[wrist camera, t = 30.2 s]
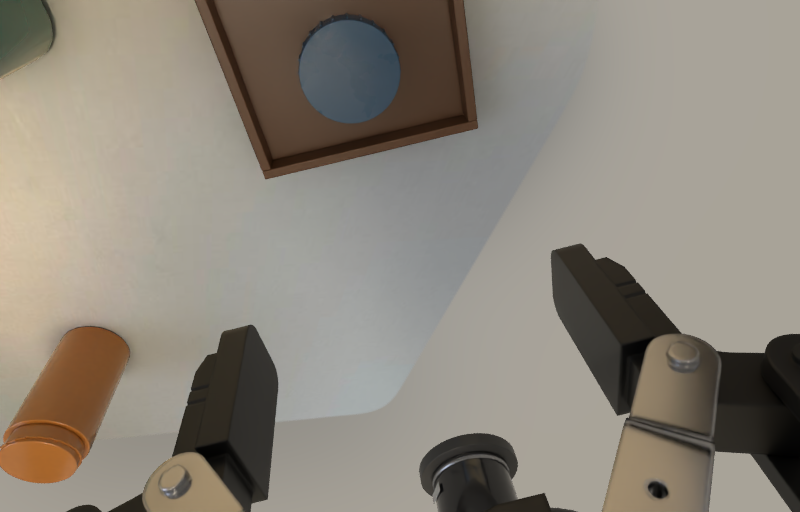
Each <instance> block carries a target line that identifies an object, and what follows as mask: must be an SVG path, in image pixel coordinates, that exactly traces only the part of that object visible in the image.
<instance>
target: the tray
mask: <svg viewBox="0 0 800 512" xmlns="http://www.w3.org/2000/svg"><path fill="white" fill-rule="evenodd" d="M195 2H196V5H197V7H198V10H199V12H200V15H201V18H202V20H203V23H204V25H205V28H206V30H207V33H208V35H209V38H210V40H211V43H212V45H213V48H214V50H215V53H216V55H217V58H218V60H219V63H220V66H221V68H222V71H223V73H224V76H225V78H226V81H227V83H228V86H229V88H230V91H231V93H232V96H233V98H234V101H235V103H236V106H237V109H238V111H239V114H240V116H241V119H242V121H243V124H244V126H245V129H246V131H247V134H248V136H249V139H250V141H251V144H252V146H253V149H254V152H255V154H256V157H257V159H258V162H259V164H260V167H261V169H262V171H263V174H264V177H265V179H269V178H273V177H278V176H282V175H286V174H290V173H294V172H298V171H303V170H307V169H311V168H315V167H319V166H323V165H328V164H332V163H336V162H340V161H344V160H348V159H353V158H357V157H361V156H365V155H369V154H373V153H378V152H382V151H386V150H390V149H394V148H398V147H403V146H407V145H411V144H415V143H419V142H423V141H427V140H432V139H436V138H440V137H444V136H448V135H452V134H457V133H461V132H465V131H469V130H473V129H477V128H478V123H477V114H476V105H475V96H474V88H473V79H472V70H471V62H470V53H469V44H468V36H467V27H466V18H465V9H464V1H463V0H195ZM345 13H347V14H348V15H357V16H359V15H361V17H364V18H366V19H368V20H370V21H372V20H373V21H374V23H375V24H377V25H378V26H379V27H380V28H381V29H384V30H385V32H386V34H387V36H388V37H389V39H390V40H391V39H392V41H393V43H394V45H393V46H394V48H395V50H396V52H397V53H398V55H399V63H400V69H401V72H400V82H399V87H398V90H397V93H396V95H395V97H394V99H393V100H392V102H391V103H390V105H389V106H388V107H387V108H386V109H385V110H384V111H383V112H382V113H381V114H379V115H378V116H376V117H374V118H372V119H370V120H368V121H365V122H361V123H353V124H351V123H341V122H337V121H334V120H331V119H329V118H327V117H325V116H324V115H322V114H321V113H319V112H318V111H317V110H316V109H315V108H314V107H313V106H312V105H311V104H310V102H309V101H308V100H307V98H306V96H305V94H304V92H303V90H302V88H301V84H300V79H299V75H298V69H299V61H298V59H299V55H301V51H302V44H303V41H304V42H305V40H306V38H307V37H308V35H309V32H310V30H313V29H314V28H315V27H316V26H317V25H319V24H320V21H322V22H323V21H325V20H326V19H329V18H331V17H332V15H334V16H338V15H345Z"/></svg>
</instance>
